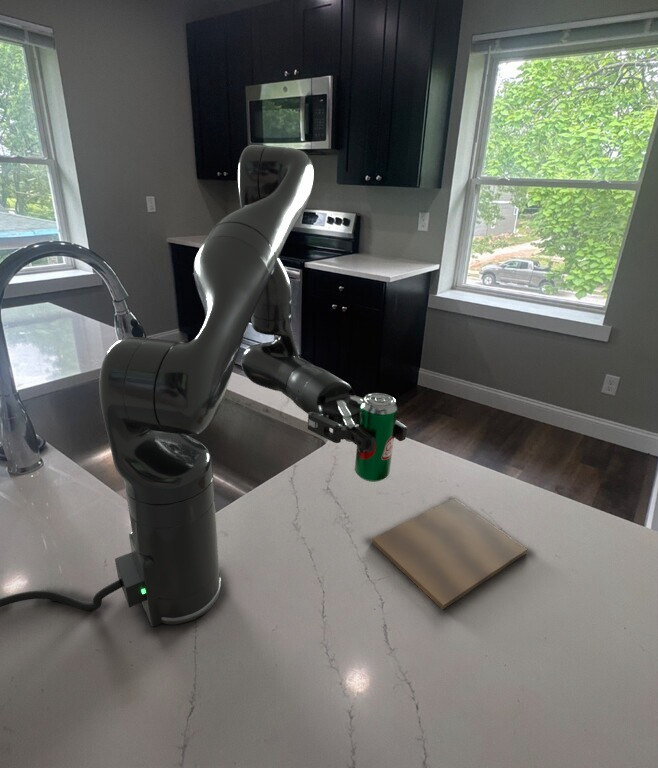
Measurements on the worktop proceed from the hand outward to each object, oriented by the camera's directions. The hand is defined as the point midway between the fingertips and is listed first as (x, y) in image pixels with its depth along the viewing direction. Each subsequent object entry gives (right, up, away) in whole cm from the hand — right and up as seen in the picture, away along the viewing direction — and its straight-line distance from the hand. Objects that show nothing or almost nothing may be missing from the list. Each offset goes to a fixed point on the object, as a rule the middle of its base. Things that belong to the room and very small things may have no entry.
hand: (388, 439), depth 63 cm
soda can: (-2, -6, +5) cm, 8 cm away
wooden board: (+9, -17, +5) cm, 20 cm away
